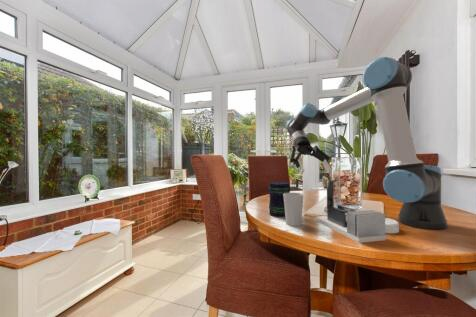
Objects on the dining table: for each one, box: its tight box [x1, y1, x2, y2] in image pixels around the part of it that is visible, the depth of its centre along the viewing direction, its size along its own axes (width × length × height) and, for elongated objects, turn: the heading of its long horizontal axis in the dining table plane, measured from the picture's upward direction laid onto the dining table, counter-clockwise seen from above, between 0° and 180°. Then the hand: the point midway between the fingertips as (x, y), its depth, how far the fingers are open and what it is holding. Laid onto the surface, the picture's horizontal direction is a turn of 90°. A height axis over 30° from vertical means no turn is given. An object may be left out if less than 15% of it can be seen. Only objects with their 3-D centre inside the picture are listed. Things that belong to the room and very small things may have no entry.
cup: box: [283, 192, 304, 227], centre depth 93 cm, size 8×8×12 cm
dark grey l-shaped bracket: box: [323, 179, 347, 222], centre depth 89 cm, size 16×3×14 cm, turn 12°
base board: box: [315, 215, 387, 244], centre depth 85 cm, size 26×10×2 cm, turn 12°
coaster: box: [385, 217, 400, 235], centre depth 85 cm, size 10×10×4 cm
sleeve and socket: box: [326, 204, 386, 238], centre depth 83 cm, size 20×10×7 cm, turn 12°
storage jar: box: [268, 181, 291, 218], centre depth 107 cm, size 10×10×15 cm
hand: (316, 171), depth 105 cm, fingers open, 13 cm apart
